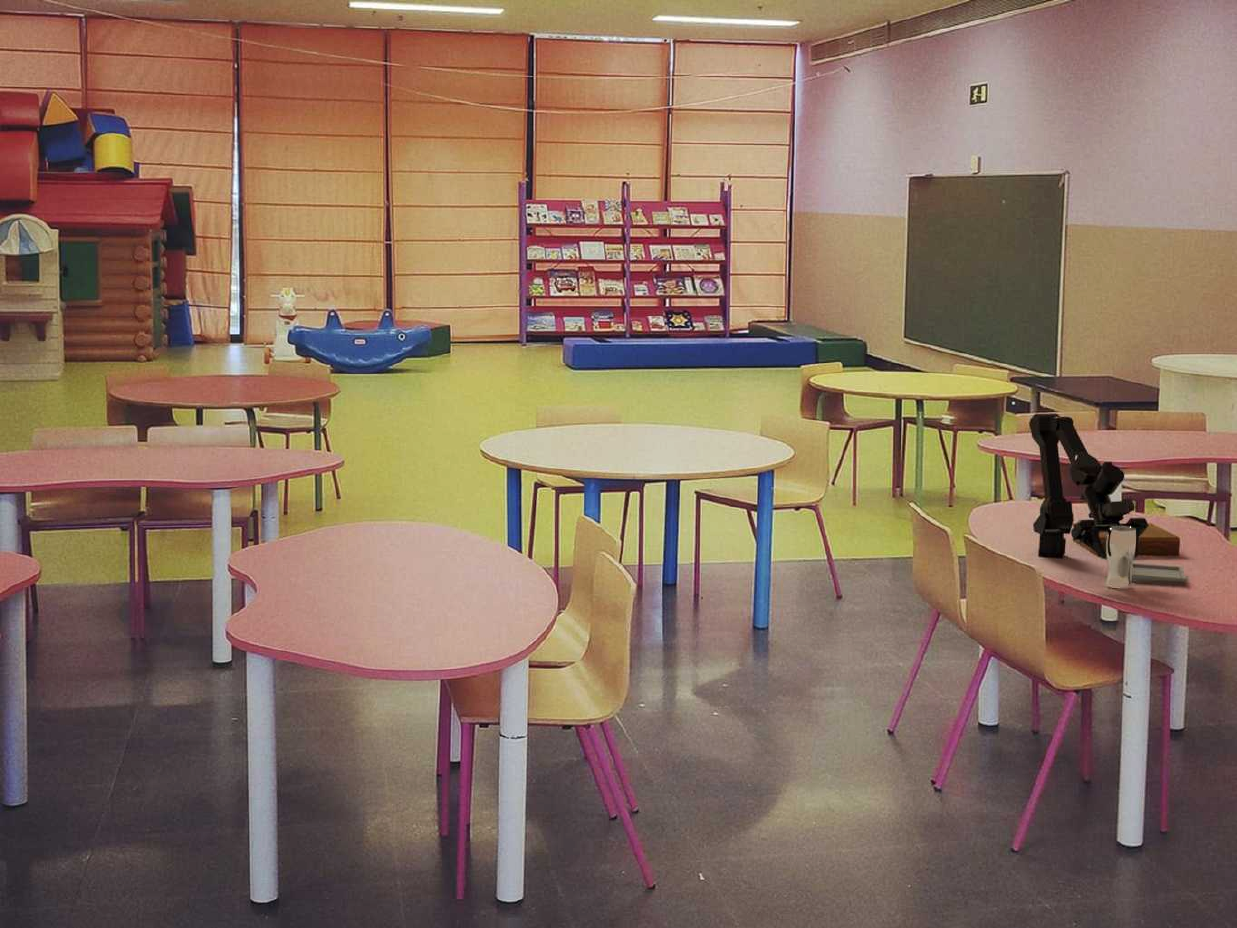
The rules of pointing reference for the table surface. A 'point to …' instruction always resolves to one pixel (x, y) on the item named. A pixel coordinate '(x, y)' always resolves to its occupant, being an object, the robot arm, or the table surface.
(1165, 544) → the diary
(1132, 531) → the beer glass
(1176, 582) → the grey tray
